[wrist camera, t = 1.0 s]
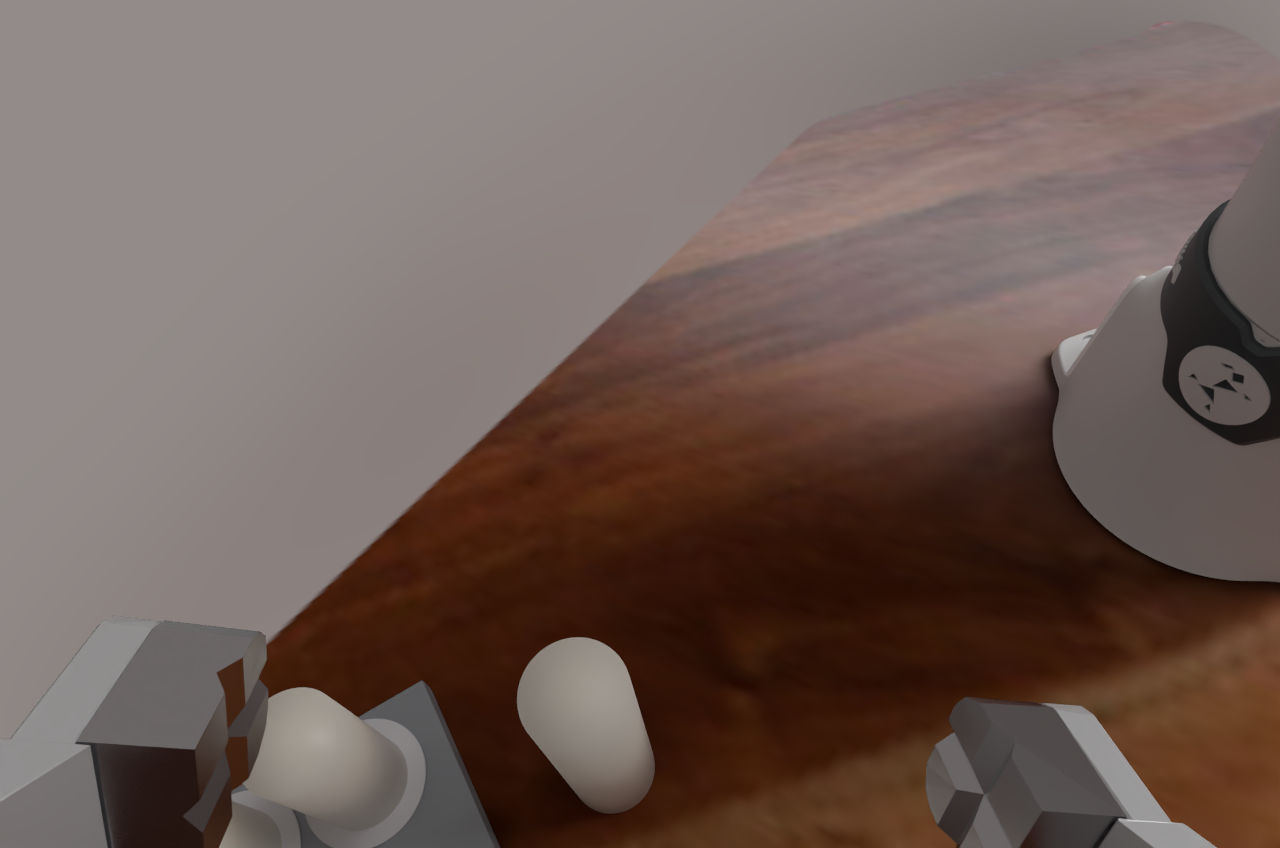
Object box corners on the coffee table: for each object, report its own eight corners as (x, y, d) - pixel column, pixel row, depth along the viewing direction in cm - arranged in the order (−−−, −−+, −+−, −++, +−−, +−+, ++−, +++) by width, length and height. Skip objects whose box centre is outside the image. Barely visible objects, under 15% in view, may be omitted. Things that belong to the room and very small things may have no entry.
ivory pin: (627, 706, 39) (596, 616, 29) (671, 782, 37) (653, 712, 27) (555, 752, 38) (498, 675, 28) (595, 832, 36) (549, 778, 26)
